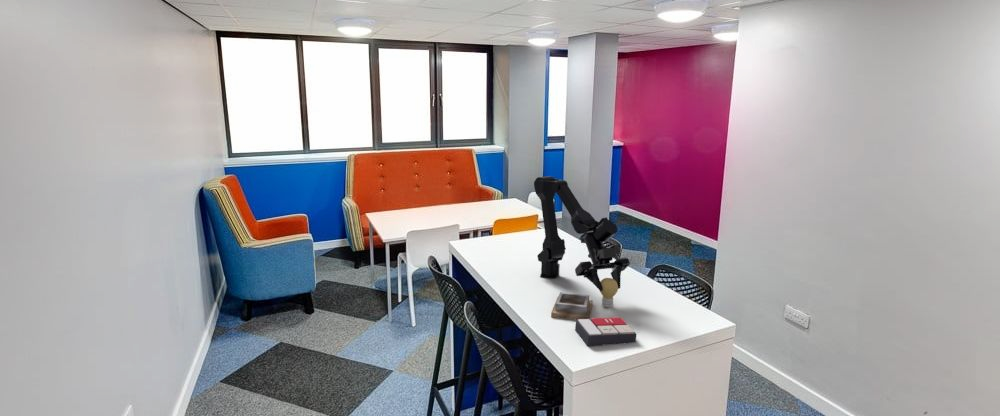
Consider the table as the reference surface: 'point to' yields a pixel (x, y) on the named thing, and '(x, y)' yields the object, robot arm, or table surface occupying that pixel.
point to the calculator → (604, 331)
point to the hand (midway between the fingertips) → (610, 289)
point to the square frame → (572, 306)
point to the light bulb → (608, 291)
